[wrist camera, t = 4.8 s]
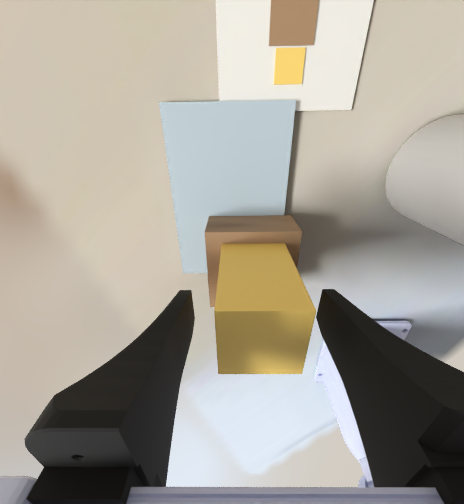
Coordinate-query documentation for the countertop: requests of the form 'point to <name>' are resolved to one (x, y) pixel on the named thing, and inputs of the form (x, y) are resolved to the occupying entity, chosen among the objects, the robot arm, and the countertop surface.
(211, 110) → the plate
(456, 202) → the beverage can
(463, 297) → the countertop surface
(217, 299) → the ochre brick
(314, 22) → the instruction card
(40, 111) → the countertop surface
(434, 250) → the countertop surface
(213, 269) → the walnut base brick
